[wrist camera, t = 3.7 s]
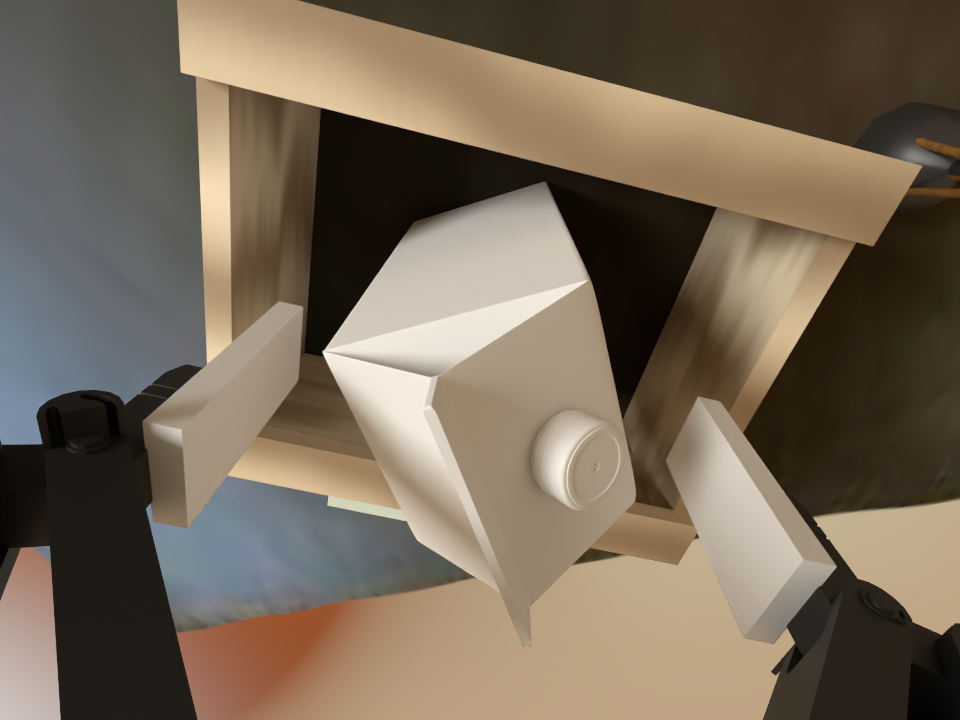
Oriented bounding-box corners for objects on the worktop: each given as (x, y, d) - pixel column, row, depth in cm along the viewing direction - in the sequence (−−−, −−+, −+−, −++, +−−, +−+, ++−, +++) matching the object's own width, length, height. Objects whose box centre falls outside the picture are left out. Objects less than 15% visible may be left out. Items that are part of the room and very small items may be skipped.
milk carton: (455, 338, 29) (390, 667, 13) (413, 220, 26) (250, 449, 9) (576, 307, 28) (681, 626, 11) (546, 179, 25) (630, 359, 8)
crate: (304, 16, 22) (175, -33, 13) (769, 138, 24) (922, 165, 15) (287, 363, 31) (201, 470, 22) (630, 437, 32) (677, 564, 23)
